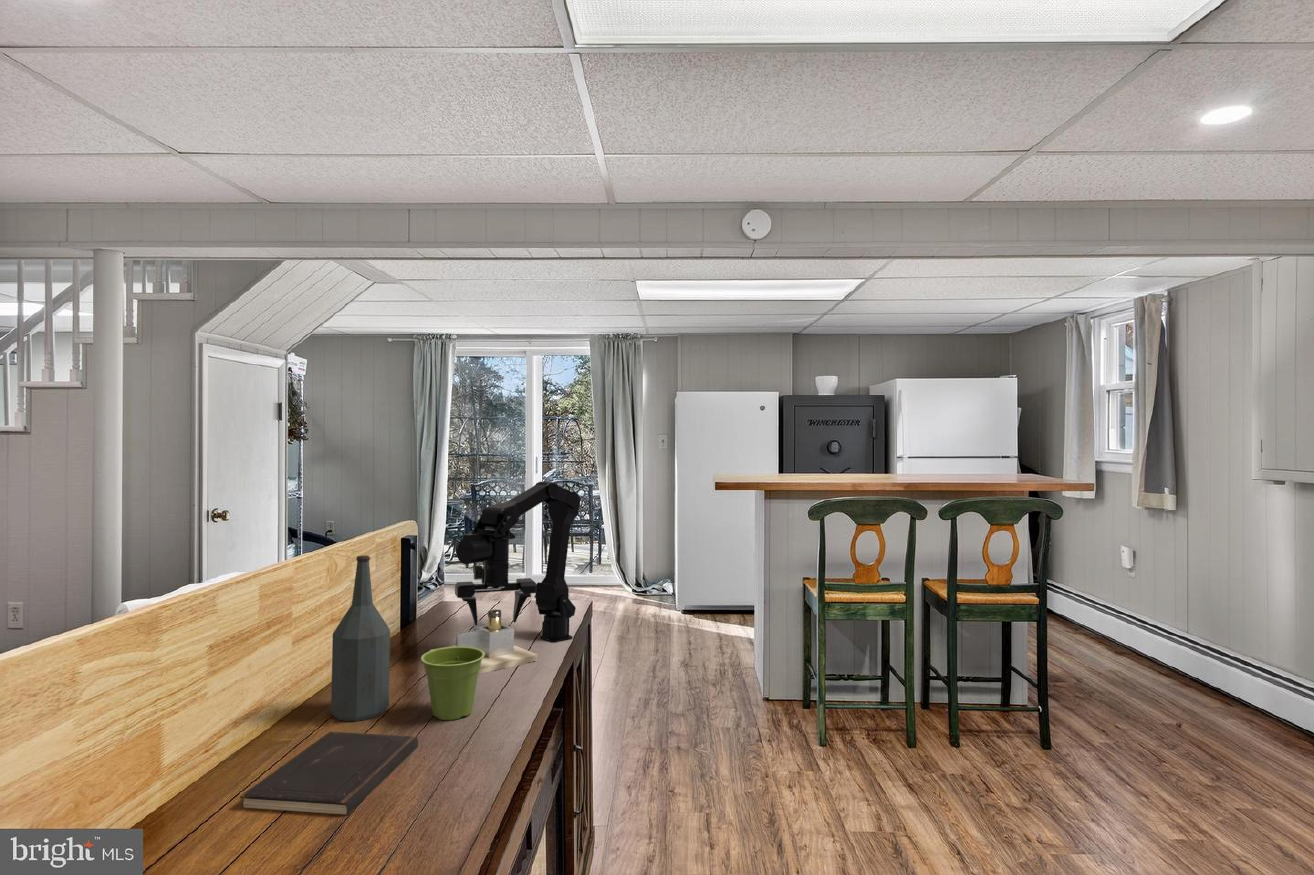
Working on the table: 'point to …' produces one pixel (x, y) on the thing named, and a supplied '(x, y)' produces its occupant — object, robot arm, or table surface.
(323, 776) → the hardcover book
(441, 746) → the table surface
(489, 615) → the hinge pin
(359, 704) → the bottle
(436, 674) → the plant pot
